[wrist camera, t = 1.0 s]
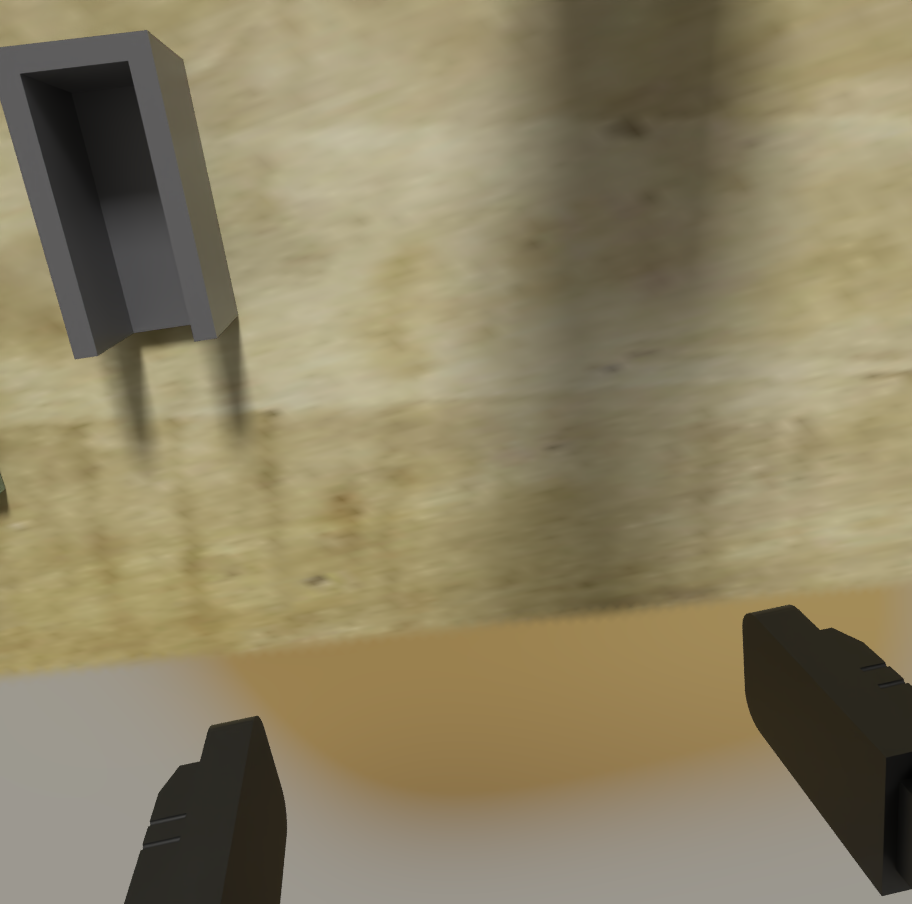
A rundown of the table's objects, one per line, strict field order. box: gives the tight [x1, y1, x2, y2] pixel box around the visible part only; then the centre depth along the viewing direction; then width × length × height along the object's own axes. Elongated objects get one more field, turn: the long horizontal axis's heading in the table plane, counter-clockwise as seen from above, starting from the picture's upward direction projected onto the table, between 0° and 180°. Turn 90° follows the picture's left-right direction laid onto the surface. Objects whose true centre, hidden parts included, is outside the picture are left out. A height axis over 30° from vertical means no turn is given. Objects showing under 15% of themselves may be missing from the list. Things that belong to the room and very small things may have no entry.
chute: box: [0, 30, 238, 359], centre depth 30 cm, size 10×5×6 cm, turn 7°
